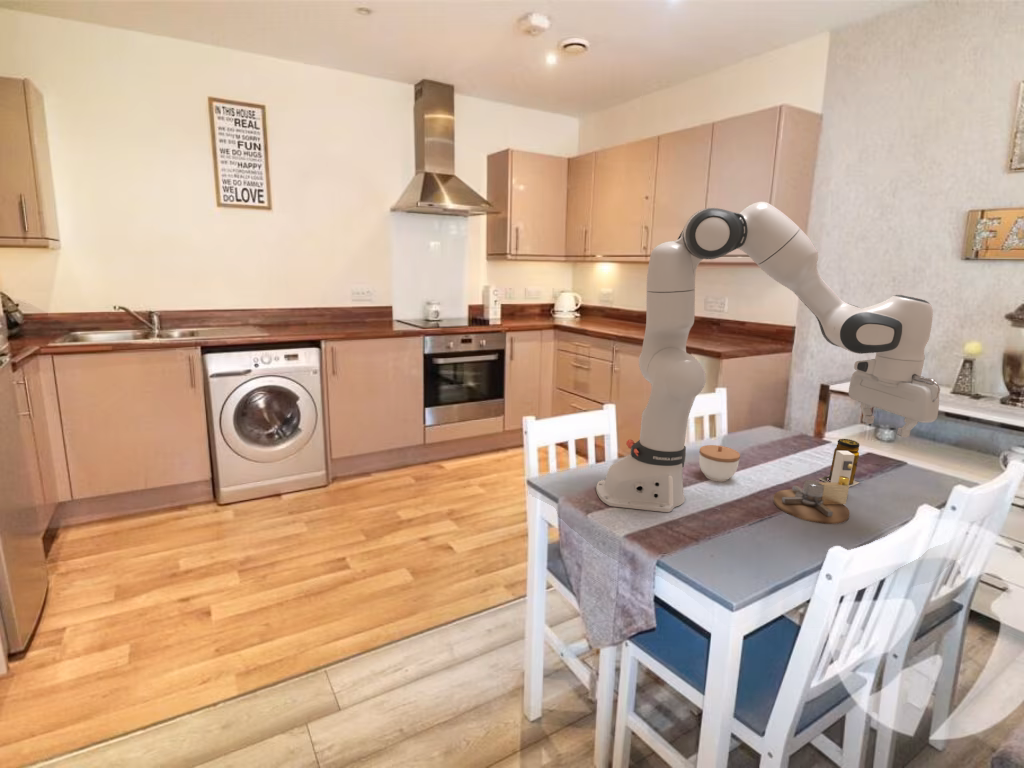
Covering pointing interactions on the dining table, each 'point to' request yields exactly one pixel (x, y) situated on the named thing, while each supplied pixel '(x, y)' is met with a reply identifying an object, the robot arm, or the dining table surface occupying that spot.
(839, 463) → the post
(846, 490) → the capstan
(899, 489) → the dining table surface
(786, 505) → the foot plate
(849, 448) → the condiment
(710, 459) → the lidded jar
